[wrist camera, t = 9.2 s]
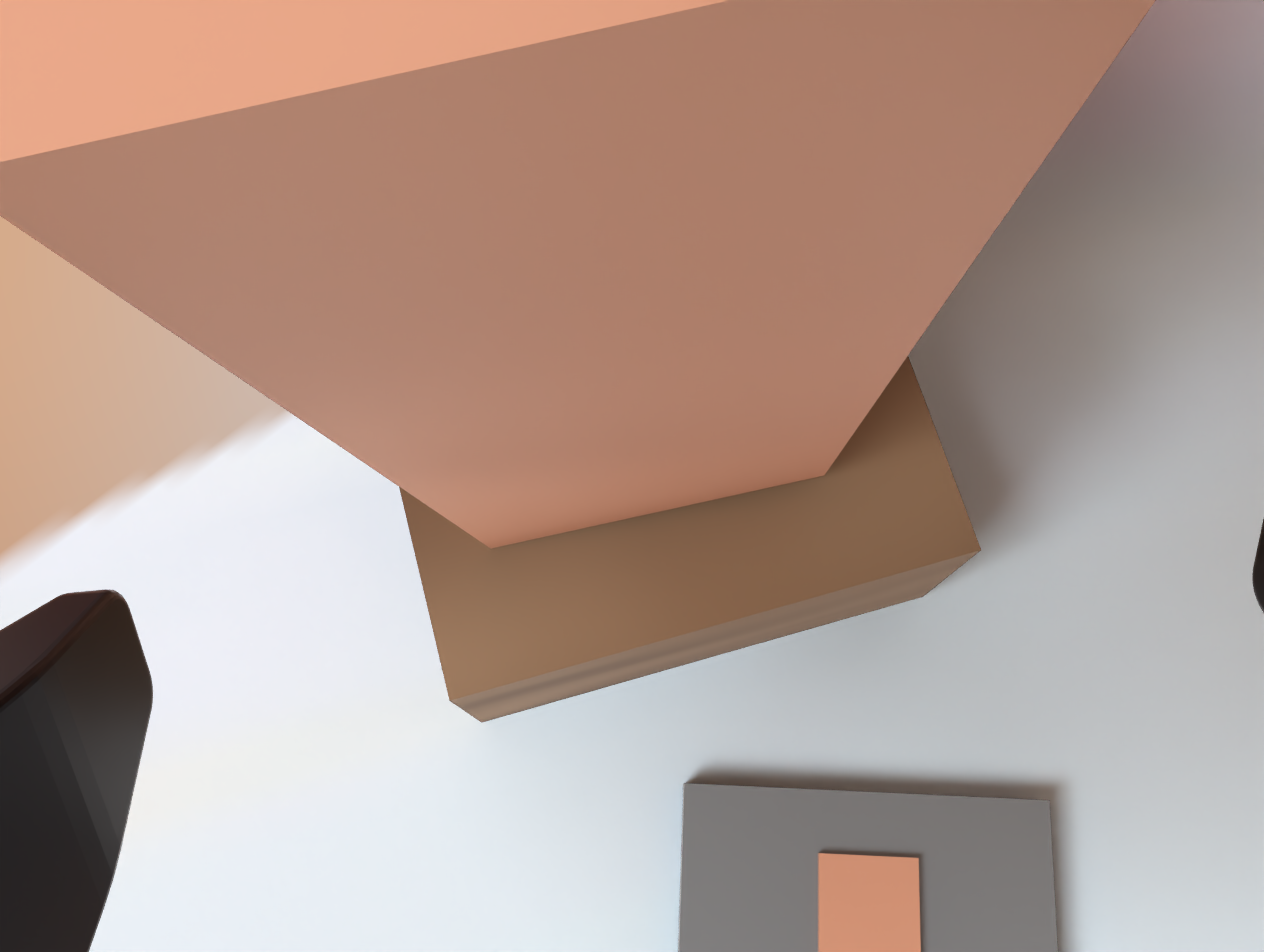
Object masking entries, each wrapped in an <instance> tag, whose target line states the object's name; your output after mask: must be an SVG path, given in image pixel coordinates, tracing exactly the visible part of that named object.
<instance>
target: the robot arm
mask: <svg viewBox="0 0 1264 952" xmlns="http://www.w3.org/2000/svg"><path fill="white" fill-rule="evenodd" d="M1253 587H1254V592H1255V595H1256V599H1257V601H1258V603H1259V605H1260V607H1261V609H1262V611H1263V613H1264V519H1263V524H1262V529H1261V534H1260V538H1259V543H1258V548H1257V553H1256V557H1255V562H1254V567H1253ZM152 702H153V686H152V679H151V675H150V671H149V668H148V665H147V662H146V659H145V656H144V653H143V650H142V646H141V643H140V640H139V637H138V634H137V631H136V628H135V625H134V621H133V618H132V615H131V612H130V609H129V607H128V604H127V602H126V601H125V599H124V598H123V596H122V595H121V594H119V593H118V592H116V591H114V590H96V591H85V592H74V593H67V594H63V595H60V596H58V597H56V598H55V599H53V600H51V601H49V602H48V603H46V604H44V605H43V606H41V607H39V608H38V609H36V610H34V611H32V612H31V613H29V614H27V615H26V616H24V617H22V618H21V619H19V620H17V621H16V622H14V623H12V624H10V625H9V626H7V627H5V628H4V629H2V630H0V952H89V949H90V947H91V944H92V941H93V938H94V935H95V932H96V929H97V926H98V924H99V921H100V918H101V915H102V912H103V909H104V906H105V903H106V900H107V897H108V894H109V891H110V887H111V884H112V881H113V878H114V874H115V870H116V866H117V862H118V858H119V854H120V850H121V846H122V842H123V837H124V832H125V828H126V823H127V819H128V814H129V810H130V805H131V800H132V796H133V791H134V787H135V782H136V778H137V773H138V768H139V764H140V759H141V755H142V750H143V746H144V741H145V736H146V732H147V727H148V723H149V718H150V714H151V709H152Z"/></svg>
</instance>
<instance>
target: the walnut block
mask: <svg viewBox="0 0 1264 952" xmlns="http://www.w3.org/2000/svg"><path fill="white" fill-rule="evenodd" d="M399 488H400V492H401V496H402V501H403V505H404V509H405V513H406V518H407V522H408V526H409V530H410V535H411V539H412V543H413V547H414V551H415V556H416V560H417V564H418V568H419V573H420V577H421V581H422V585H423V590H424V594H425V598H426V602H427V607H428V611H429V615H430V619H431V624H432V628H433V632H434V636H435V641H436V645H437V649H438V653H439V657H440V662H441V666H442V670H443V674H444V679H445V683H446V687H447V691H448V696H449V700H450V701H451V702H452V703H454V704H455V705H457V706H458V707H460V708H461V709H463V710H464V711H466V712H467V713H468V714H470V715H471V716H473V717H474V718H476V719H477V720H479V721H480V722H485V721H489V720H492V719H496V718H499V717H503V716H506V715H510V714H513V713H517V712H520V711H524V710H527V709H531V708H534V707H538V706H541V705H545V704H548V703H552V702H555V701H559V700H562V699H566V698H569V697H573V696H576V695H580V694H583V693H587V692H590V691H594V690H597V689H601V688H604V687H608V686H611V685H615V684H618V683H622V682H625V681H629V680H632V679H636V678H639V677H643V676H646V675H650V674H653V673H657V672H660V671H664V670H667V669H671V668H674V667H678V666H681V665H685V664H688V663H692V662H695V661H699V660H702V659H706V658H709V657H713V656H717V655H720V654H724V653H727V652H731V651H734V650H738V649H741V648H745V647H748V646H752V645H755V644H759V643H762V642H766V641H769V640H773V639H776V638H780V637H783V636H787V635H790V634H794V633H797V632H801V631H804V630H808V629H811V628H815V627H818V626H822V625H825V624H829V623H832V622H836V621H839V620H843V619H846V618H850V617H853V616H857V615H860V614H864V613H867V612H871V611H874V610H878V609H881V608H885V607H888V606H892V605H895V604H899V603H902V602H906V601H909V600H913V599H916V598H920V597H923V596H924V595H925V594H927V593H928V592H929V591H930V590H932V589H933V588H934V587H935V586H937V585H938V584H939V583H940V582H942V581H943V580H944V579H945V578H947V577H948V576H949V575H950V574H952V573H953V572H954V571H955V570H957V569H958V568H959V567H960V566H962V565H963V564H964V563H965V562H967V561H968V560H969V559H970V558H972V557H973V556H974V555H976V554H977V553H978V552H979V551H981V548H980V546H979V543H978V541H977V538H976V535H975V533H974V530H973V527H972V525H971V522H970V519H969V517H968V514H967V511H966V509H965V506H964V503H963V501H962V498H961V495H960V493H959V490H958V487H957V485H956V482H955V479H954V477H953V474H952V472H951V469H950V466H949V464H948V461H947V458H946V456H945V453H944V450H943V448H942V445H941V442H940V440H939V437H938V434H937V432H936V429H935V426H934V424H933V421H932V418H931V416H930V413H929V410H928V408H927V405H926V403H925V400H924V397H923V395H922V392H921V389H920V387H919V384H918V381H917V379H916V376H915V373H914V371H913V368H912V365H911V363H910V360H909V357H908V356H907V358H906V359H905V360H904V362H903V363H902V365H901V366H900V368H899V369H898V371H897V372H896V373H895V375H894V376H893V378H892V379H891V381H890V382H889V383H888V385H887V386H886V388H885V389H884V391H883V392H882V393H881V395H880V396H879V398H878V399H877V401H876V402H875V403H874V405H873V406H872V408H871V409H870V411H869V412H868V414H867V415H866V416H865V418H864V419H863V421H862V422H861V424H860V425H859V426H858V428H857V429H856V431H855V432H854V434H853V435H852V436H851V438H850V439H849V441H848V442H847V444H846V445H845V447H844V448H843V449H842V451H841V452H840V454H839V455H838V457H837V458H836V459H835V461H834V462H833V464H832V465H831V467H830V468H829V469H828V471H827V472H826V474H825V475H824V476H820V477H815V478H810V479H806V480H801V481H797V482H792V483H788V484H783V485H779V486H774V487H769V488H765V489H760V490H756V491H751V492H747V493H742V494H738V495H733V496H729V497H724V498H719V499H715V500H710V501H706V502H701V503H697V504H692V505H688V506H683V507H678V508H674V509H669V510H665V511H660V512H656V513H651V514H647V515H642V516H637V517H633V518H628V519H624V520H619V521H615V522H610V523H606V524H601V525H596V526H592V527H587V528H583V529H578V530H574V531H569V532H565V533H560V534H555V535H551V536H546V537H542V538H537V539H533V540H528V541H524V542H519V543H514V544H510V545H505V546H501V547H496V548H492V549H491V548H489V547H488V546H486V545H485V544H483V543H482V542H480V541H479V540H477V539H476V538H474V537H473V536H471V535H470V534H468V533H467V532H465V531H464V530H463V529H461V528H460V527H458V526H457V525H455V524H454V523H452V522H451V521H449V520H448V519H446V518H445V517H443V516H442V515H440V514H439V513H437V512H436V511H435V510H433V509H432V508H430V507H429V506H427V505H426V504H424V503H423V502H421V501H420V500H418V499H417V498H415V497H414V496H412V495H411V494H409V493H408V492H407V491H405V490H404V489H402V488H401V487H399Z"/></svg>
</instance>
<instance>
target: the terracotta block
mask: <svg viewBox="0 0 1264 952" xmlns="http://www.w3.org/2000/svg"><path fill="white" fill-rule="evenodd" d="M1155 1H1156V0H0V216H1V217H3V218H4V219H6V220H7V221H9V222H10V223H11V224H13V225H14V226H16V227H18V228H19V229H20V230H22V231H23V232H25V233H26V234H28V235H29V236H31V237H32V238H34V239H35V240H37V241H38V242H40V243H41V244H43V245H44V246H45V247H47V248H48V249H50V250H51V251H53V252H54V253H56V254H57V255H59V256H60V257H62V258H63V259H65V260H66V261H67V262H69V263H70V264H72V265H73V266H75V267H76V268H78V269H79V270H81V271H83V272H84V273H85V274H87V275H88V276H90V277H91V278H93V279H94V280H95V281H97V282H99V283H100V284H101V285H103V286H105V287H106V288H107V289H109V290H110V291H112V292H113V293H115V294H116V295H118V296H119V297H121V298H122V299H123V300H125V301H126V302H128V303H130V304H131V305H132V306H134V307H135V308H137V309H138V310H140V311H141V312H143V313H144V314H146V315H147V316H149V317H150V318H152V319H153V320H154V321H156V322H158V323H159V324H160V325H162V326H163V327H165V328H166V329H168V330H169V331H171V332H172V333H174V334H175V335H177V336H178V337H180V338H181V339H182V340H184V341H186V342H187V343H188V344H190V345H191V346H193V347H195V348H196V349H197V350H199V351H200V352H202V353H203V354H205V355H206V356H208V357H209V358H210V359H212V360H213V361H215V362H216V363H218V364H219V365H221V366H223V367H224V368H225V369H227V370H228V371H230V372H231V373H233V374H234V375H236V376H237V377H238V378H240V379H242V380H243V381H244V382H246V383H247V384H249V385H250V386H252V387H253V388H255V389H256V390H258V391H259V392H261V393H262V394H264V395H265V396H266V397H268V398H269V399H271V400H272V401H274V402H275V403H277V404H278V405H280V406H281V407H283V408H284V409H286V410H287V411H289V412H290V413H292V414H293V415H294V416H296V417H297V418H299V419H300V420H302V421H303V422H305V423H306V424H308V425H309V426H311V427H312V428H314V429H315V430H317V431H318V432H320V433H321V434H323V435H324V436H325V437H327V438H328V439H330V440H331V441H333V442H334V443H336V444H337V445H339V446H340V447H342V448H343V449H345V450H346V451H348V452H349V453H351V454H352V455H353V456H355V457H356V458H358V459H359V460H361V461H362V462H364V463H365V464H367V465H368V466H370V467H371V468H373V469H374V470H376V471H377V472H379V473H380V474H381V475H383V476H384V477H386V478H387V479H389V480H390V481H392V482H393V483H395V484H396V485H398V486H399V487H401V488H402V489H404V490H405V491H407V492H408V493H409V494H411V495H412V496H414V497H415V498H417V499H418V500H420V501H421V502H423V503H424V504H426V505H427V506H429V507H430V508H432V509H433V510H435V511H436V512H437V513H439V514H440V515H442V516H443V517H445V518H446V519H448V520H449V521H451V522H452V523H454V524H455V525H457V526H458V527H460V528H461V529H463V530H464V531H465V532H467V533H468V534H470V535H471V536H473V537H474V538H476V539H477V540H479V541H480V542H482V543H483V544H485V545H486V546H488V547H489V548H491V549H492V548H496V547H501V546H505V545H510V544H514V543H519V542H524V541H528V540H533V539H537V538H542V537H546V536H551V535H555V534H560V533H565V532H569V531H574V530H578V529H583V528H587V527H592V526H596V525H601V524H606V523H610V522H615V521H619V520H624V519H628V518H633V517H637V516H642V515H647V514H651V513H656V512H660V511H665V510H669V509H674V508H678V507H683V506H688V505H692V504H697V503H701V502H706V501H710V500H715V499H719V498H724V497H729V496H733V495H738V494H742V493H747V492H751V491H756V490H760V489H765V488H769V487H774V486H779V485H783V484H788V483H792V482H797V481H801V480H806V479H810V478H815V477H820V476H824V475H825V474H826V472H827V471H828V469H829V468H830V467H831V465H832V464H833V462H834V461H835V459H836V458H837V457H838V455H839V454H840V452H841V451H842V449H843V448H844V447H845V445H846V444H847V442H848V441H849V439H850V438H851V436H852V435H853V434H854V432H855V431H856V429H857V428H858V426H859V425H860V424H861V422H862V421H863V419H864V418H865V416H866V415H867V414H868V412H869V411H870V409H871V408H872V406H873V405H874V403H875V402H876V401H877V399H878V398H879V396H880V395H881V393H882V392H883V391H884V389H885V388H886V386H887V385H888V383H889V382H890V381H891V379H892V378H893V376H894V375H895V373H896V372H897V371H898V369H899V368H900V366H901V365H902V363H903V362H904V360H905V359H906V358H907V356H908V355H909V353H910V352H911V350H912V349H913V348H914V346H915V345H916V343H917V342H918V340H919V339H920V338H921V336H922V335H923V333H924V332H925V330H926V329H927V328H928V326H929V325H930V323H931V322H932V320H933V319H934V317H935V316H936V315H937V313H938V312H939V310H940V309H941V307H942V306H943V305H944V303H945V302H946V300H947V299H948V297H949V296H950V295H951V293H952V292H953V290H954V289H955V287H956V286H957V284H958V283H959V282H960V280H961V279H962V277H963V276H964V274H965V273H966V272H967V270H968V269H969V267H970V266H971V264H972V263H973V262H974V260H975V259H976V257H977V256H978V254H979V253H980V252H981V250H982V249H983V247H984V246H985V244H986V243H987V241H988V240H989V239H990V237H991V236H992V234H993V233H994V231H995V230H996V229H997V227H998V226H999V224H1000V223H1001V221H1002V220H1003V219H1004V217H1005V216H1006V214H1007V213H1008V211H1009V210H1010V209H1011V207H1012V206H1013V204H1014V203H1015V201H1016V200H1017V198H1018V197H1019V196H1020V194H1021V193H1022V191H1023V190H1024V188H1025V187H1026V186H1027V184H1028V183H1029V181H1030V180H1031V178H1032V177H1033V176H1034V174H1035V173H1036V171H1037V170H1038V168H1039V167H1040V165H1041V164H1042V163H1043V161H1044V160H1045V158H1046V157H1047V155H1048V154H1049V153H1050V151H1051V150H1052V148H1053V147H1054V145H1055V144H1056V143H1057V141H1058V140H1059V138H1060V137H1061V135H1062V134H1063V133H1064V131H1065V130H1066V128H1067V127H1068V125H1069V124H1070V122H1071V121H1072V120H1073V118H1074V117H1075V115H1076V114H1077V112H1078V111H1079V110H1080V108H1081V107H1082V105H1083V104H1084V102H1085V101H1086V100H1087V98H1088V97H1089V95H1090V94H1091V92H1092V91H1093V90H1094V88H1095V87H1096V85H1097V84H1098V82H1099V81H1100V79H1101V78H1102V77H1103V75H1104V74H1105V72H1106V71H1107V69H1108V68H1109V67H1110V65H1111V64H1112V62H1113V61H1114V59H1115V58H1116V57H1117V55H1118V54H1119V52H1120V51H1121V49H1122V48H1123V47H1124V45H1125V44H1126V42H1127V41H1128V39H1129V38H1130V36H1131V35H1132V34H1133V32H1134V31H1135V29H1136V28H1137V26H1138V25H1139V24H1140V22H1141V21H1142V19H1143V18H1144V16H1145V15H1146V14H1147V12H1148V11H1149V9H1150V8H1151V6H1152V5H1153V3H1154V2H1155Z"/></svg>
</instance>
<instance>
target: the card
mask: <svg viewBox="0 0 1264 952" xmlns="http://www.w3.org/2000/svg"><path fill="white" fill-rule="evenodd" d="M678 952H1058V944H1057V926H1056V908H1055V889H1054V871H1053V853H1052V835H1051V817H1050V800H1032V799H1011V798H989V797H968V796H947V795H926V794H904V793H883V792H862V791H840V790H819V789H798V788H777V787H755V786H734V785H713V784H691V783H684V784H683V812H682V844H681V875H680V906H679V938H678Z"/></svg>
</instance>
